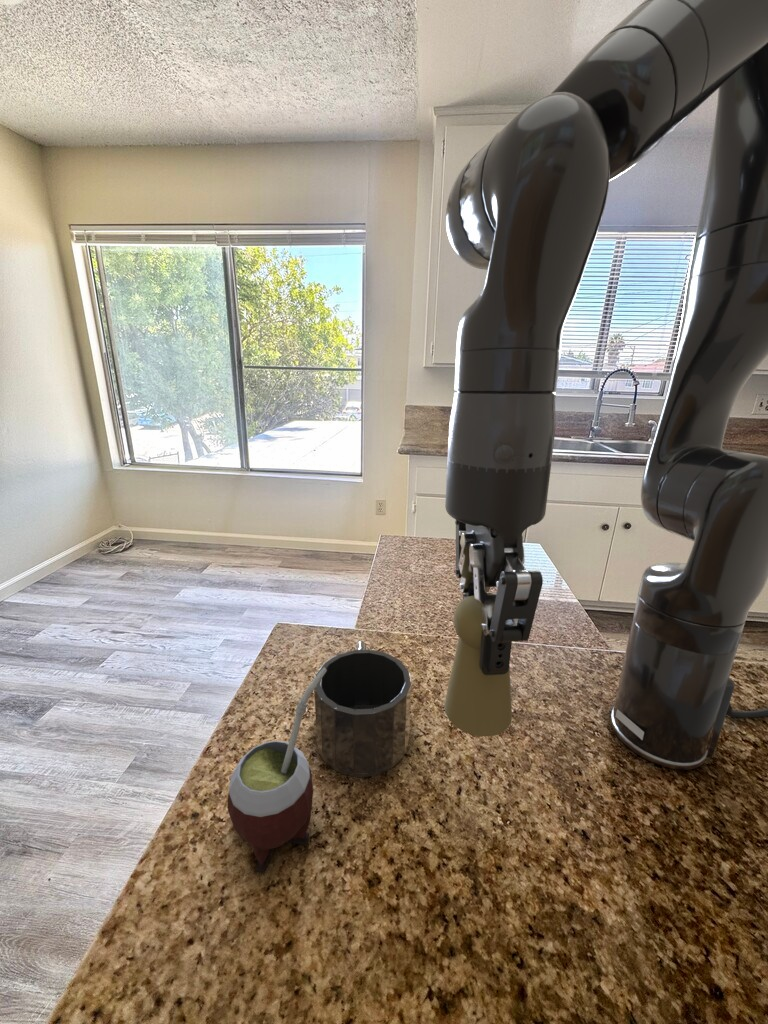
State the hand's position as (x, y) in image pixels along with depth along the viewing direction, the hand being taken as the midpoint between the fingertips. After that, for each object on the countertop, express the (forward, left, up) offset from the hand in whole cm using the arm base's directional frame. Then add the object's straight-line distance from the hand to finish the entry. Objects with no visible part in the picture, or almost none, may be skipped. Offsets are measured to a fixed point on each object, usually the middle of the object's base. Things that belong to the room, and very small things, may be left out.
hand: (482, 649), depth 36 cm
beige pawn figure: (0, 0, -7) cm, 7 cm away
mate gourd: (+18, +2, -17) cm, 25 cm away
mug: (+10, -10, -17) cm, 22 cm away
